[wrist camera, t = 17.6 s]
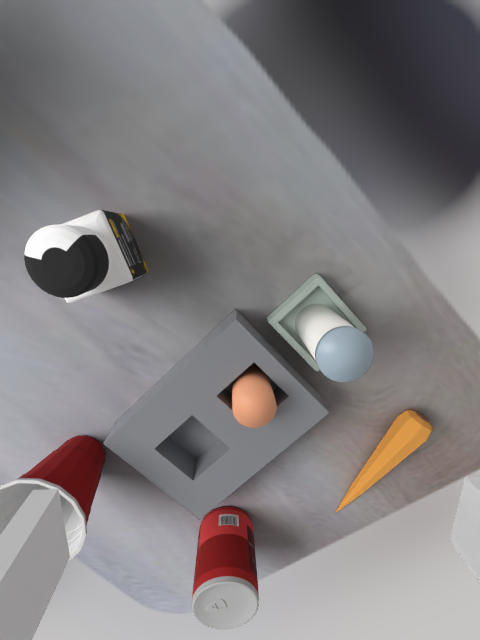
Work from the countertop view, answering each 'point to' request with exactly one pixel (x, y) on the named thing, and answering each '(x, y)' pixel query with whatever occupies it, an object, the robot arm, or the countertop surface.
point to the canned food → (225, 570)
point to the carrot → (391, 451)
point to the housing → (213, 419)
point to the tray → (305, 295)
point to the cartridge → (334, 343)
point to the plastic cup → (61, 486)
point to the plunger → (253, 398)
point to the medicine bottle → (84, 256)
